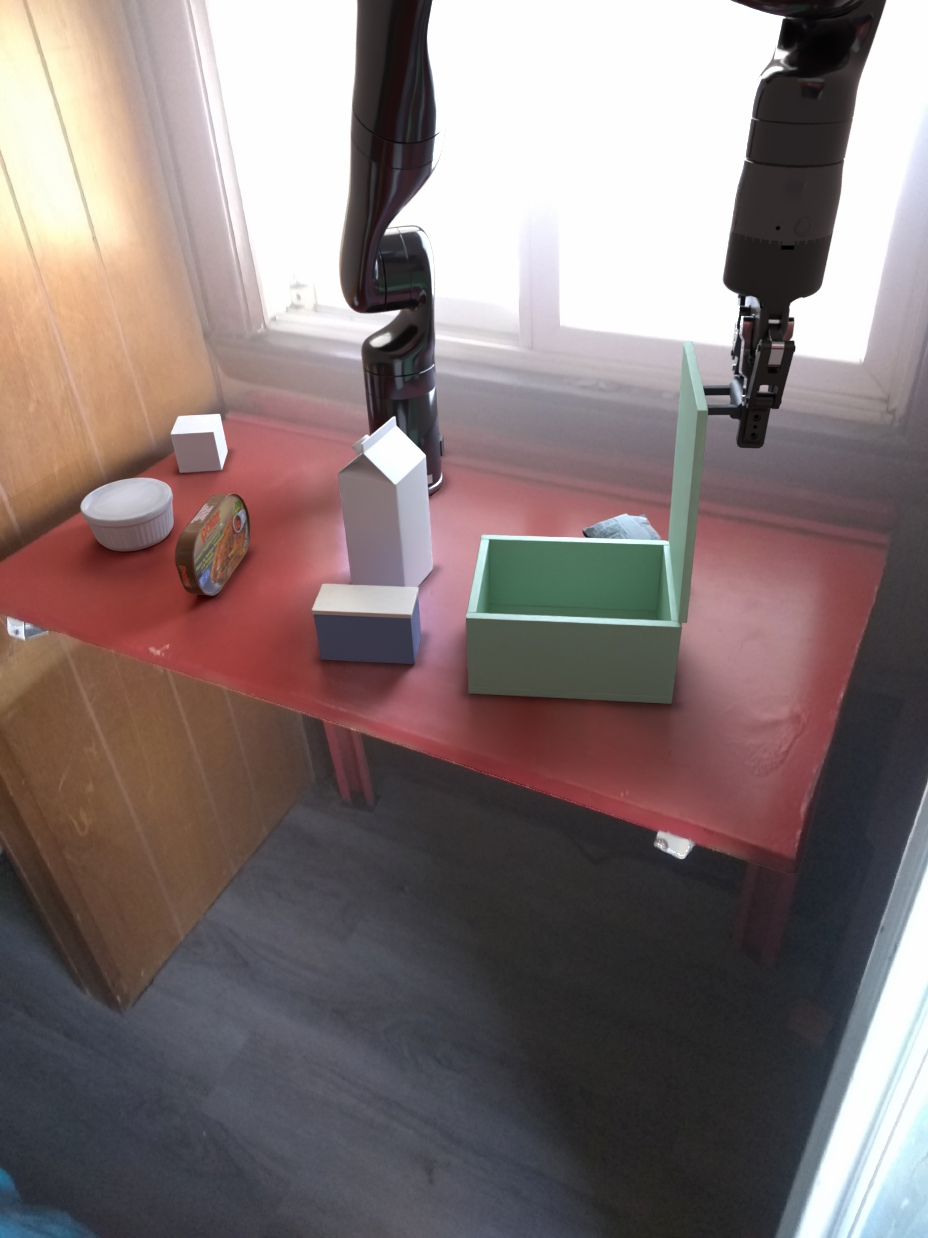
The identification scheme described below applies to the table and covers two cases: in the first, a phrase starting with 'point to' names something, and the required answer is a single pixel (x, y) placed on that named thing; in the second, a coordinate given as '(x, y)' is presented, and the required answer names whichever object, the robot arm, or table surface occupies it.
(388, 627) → the snack box
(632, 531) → the packaged food
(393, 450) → the milk carton
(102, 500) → the ramekin
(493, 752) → the table surface
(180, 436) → the white cube
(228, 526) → the tin
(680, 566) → the lid
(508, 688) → the box
